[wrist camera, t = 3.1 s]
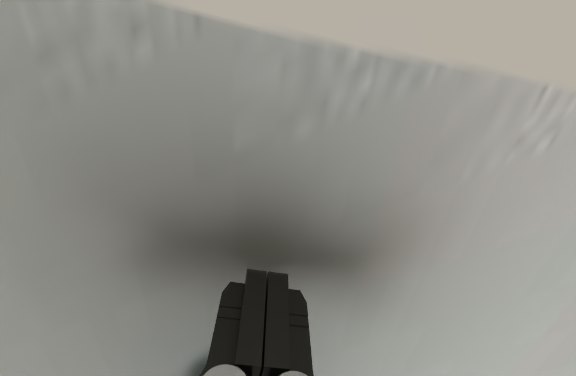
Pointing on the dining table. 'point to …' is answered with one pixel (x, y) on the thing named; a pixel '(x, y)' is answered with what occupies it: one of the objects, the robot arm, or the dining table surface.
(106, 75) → the dining table surface
